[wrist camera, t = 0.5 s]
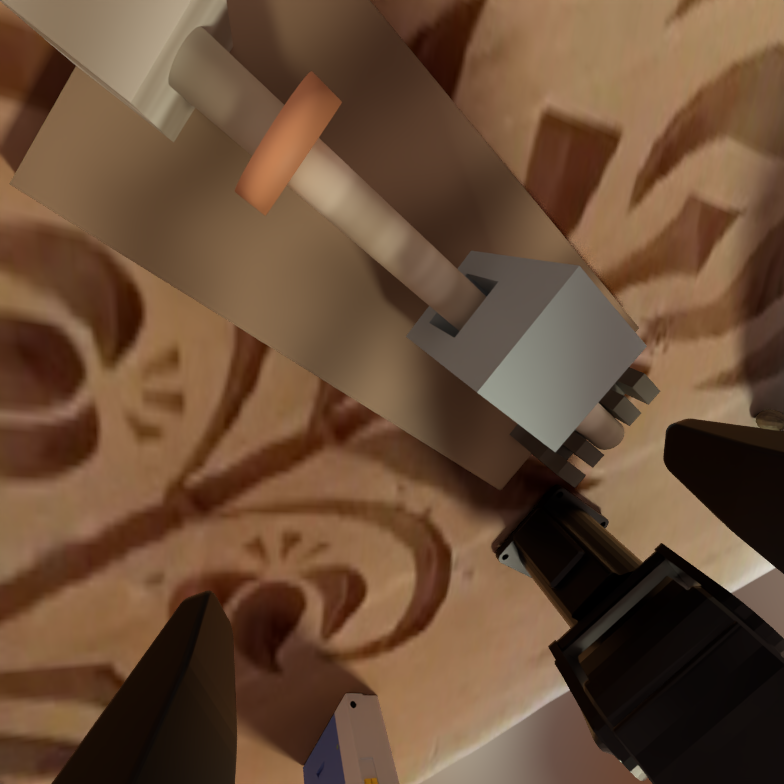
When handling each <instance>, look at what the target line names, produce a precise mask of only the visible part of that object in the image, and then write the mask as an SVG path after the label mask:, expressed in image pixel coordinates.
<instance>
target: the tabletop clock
mask: <svg viewBox="0 0 784 784" xmlns="http://www.w3.org/2000/svg"><path fill="white" fill-rule="evenodd" d="M756 423H757V425H758V426H759V427H760V428H763V429H770V430H777V431H779V430H781V429H782V428H784V414H782V413H781V412H778V411H776V410H771V409H770V410H764V411H762V412H760V413H759V414H758V415H757V417H756Z"/></svg>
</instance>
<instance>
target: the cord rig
mask: <svg viewBox="0 0 784 784" xmlns="http://www.w3.org/2000/svg"><path fill="white" fill-rule="evenodd" d="M0 1H1V2H2V3H3V4H4V5H5V6H7V7H8V8H9V9H10V10H11V11H12V12H14V13H15V14H16V15H17V16H18V17H19V18H21V19H22V20H23V21H24V22H25V23H27V24H28V25H29V26H30V27H31V28H32V29H34V30H35V31H36V32H37V33H38V34H39V35H41V36H42V37H43V38H44V39H45V40H47V41H48V42H49V43H50V44H51V45H52V46H54V47H55V48H56V49H57V50H58V51H59V52H61V53H62V54H63V55H64V56H65V57H66V58H68V59H69V60H70V61H71V62H72V63H74V64H75V65H76V67H75V69H74V71H73V72H72V74H71V76H70V78H69V79H68V81H67V83H66V85H65V86H64V88H63V90H62V92H61V93H60V95H59V97H58V99H57V101H56V102H55V104H54V106H53V108H52V109H51V111H50V113H49V115H48V116H47V118H46V120H45V122H44V123H43V125H42V127H41V129H40V131H39V132H38V134H37V136H36V138H35V139H34V141H33V143H32V145H31V146H30V148H29V150H28V152H27V153H26V155H25V157H24V159H23V161H22V162H21V164H20V166H19V168H18V169H17V171H16V173H15V175H14V176H13V178H12V180H11V182H10V183H9V184H10V185H12V186H13V187H15V188H16V189H18V190H20V191H21V192H23V193H24V194H26V195H28V196H29V197H31V198H32V199H34V200H36V201H37V202H39V203H40V204H42V205H44V206H45V207H47V208H48V209H50V210H52V211H53V212H55V213H56V214H58V215H60V216H61V217H63V218H64V219H66V220H68V221H69V222H71V223H72V224H74V225H76V226H77V227H79V228H80V229H82V230H84V231H85V232H87V233H88V234H90V235H92V236H93V237H95V238H96V239H98V240H100V241H101V242H103V243H104V244H106V245H108V246H109V247H111V248H112V249H114V250H116V251H117V252H119V253H120V254H122V255H124V256H125V257H127V258H128V259H130V260H132V261H133V262H135V263H136V264H138V265H140V266H141V267H143V268H144V269H146V270H148V271H149V272H151V273H152V274H154V275H156V276H157V277H159V278H161V279H162V280H164V281H165V282H167V283H169V284H170V285H172V286H173V287H175V288H177V289H178V290H180V291H181V292H183V293H185V294H186V295H188V296H189V297H191V298H193V299H194V300H196V301H197V302H199V303H201V304H202V305H204V306H205V307H207V308H209V309H210V310H212V311H213V312H215V313H217V314H218V315H220V316H221V317H223V318H225V319H226V320H228V321H229V322H231V323H233V324H234V325H236V326H237V327H239V328H241V329H242V330H244V331H245V332H247V333H249V334H250V335H252V336H253V337H255V338H257V339H258V340H260V341H261V342H263V343H265V344H266V345H268V346H269V347H271V348H273V349H274V350H276V351H277V352H279V353H281V354H282V355H284V356H285V357H287V358H289V359H290V360H292V361H293V362H295V363H297V364H298V365H300V366H301V367H303V368H305V369H306V370H308V371H309V372H311V373H313V374H314V375H316V376H318V377H319V378H321V379H322V380H324V381H326V382H327V383H329V384H330V385H332V386H334V387H335V388H337V389H338V390H340V391H342V392H343V393H345V394H346V395H348V396H350V397H351V398H353V399H354V400H356V401H358V402H359V403H361V404H362V405H364V406H366V407H367V408H369V409H370V410H372V411H374V412H375V413H377V414H378V415H380V416H382V417H383V418H385V419H386V420H388V421H390V422H391V423H393V424H394V425H396V426H398V427H399V428H401V429H402V430H404V431H406V432H407V433H409V434H410V435H412V436H414V437H415V438H417V439H418V440H420V441H422V442H423V443H425V444H426V445H428V446H430V447H431V448H433V449H434V450H436V451H438V452H439V453H441V454H442V455H444V456H446V457H447V458H449V459H450V460H452V461H454V462H455V463H457V464H458V465H460V466H462V467H463V468H465V469H466V470H468V471H470V472H471V473H473V474H475V475H476V476H478V477H479V478H481V479H483V480H484V481H486V482H487V483H489V484H491V485H492V486H494V487H495V488H497V489H499V490H501V489H502V488H503V487H504V486H505V485H506V483H507V482H508V481H509V480H510V479H511V478H512V476H513V475H514V474H515V473H516V472H517V470H518V469H519V468H520V467H521V466H522V465H523V463H524V462H525V461H526V460H527V459H528V458H529V456H530V455H531V454H533V455H534V456H535V457H537V458H538V459H539V460H540V461H541V462H542V463H544V464H545V465H546V466H547V467H548V468H549V469H551V470H552V471H553V472H554V473H555V474H557V475H558V476H559V477H561V478H562V479H563V480H565V481H566V482H568V483H569V484H570V485H572V486H573V487H574V488H575V487H576V486H577V485H578V484H579V483H580V482H581V481H582V479H583V478H584V477H585V476H586V475H585V474H583V473H582V472H581V471H580V470H578V469H577V468H576V467H574V466H573V465H572V464H571V463H569V462H568V461H567V460H568V458H569V457H570V456H571V455H572V454H573V453H574V454H575V455H576V456H578V457H579V458H581V459H582V460H583V461H585V462H586V463H587V464H589V465H590V466H591V467H594V466H595V465H596V464H597V462H598V461H599V460H600V459H601V458H602V457H603V456H604V454H602V453H601V452H600V451H599V450H598V449H596V448H595V447H597V448H599V449H603V450H607V449H611V448H614V447H615V446H617V445H618V444H619V443H620V442H621V441H622V439H623V437H624V428H623V426H622V425H621V424H620V423H619V422H618V421H617V420H616V419H618V420H620V421H622V422H623V423H625V424H627V425H629V426H630V425H631V424H632V423H633V422H634V421H635V419H636V418H637V417H638V416H639V415H640V414H641V412H640V411H639V410H638V409H637V408H636V407H635V406H634V405H633V404H632V403H631V402H630V401H629V400H628V399H627V398H626V397H625V396H623V395H624V394H627V395H629V396H631V397H633V398H636V399H638V400H640V401H642V402H644V403H646V404H648V405H649V404H650V402H651V401H652V400H653V399H654V398H655V397H656V396H657V395H658V393H659V392H660V390H659V389H658V388H657V387H656V386H655V385H654V384H653V382H652V381H651V380H650V379H649V378H648V377H647V376H646V375H645V374H644V373H642V372H639V371H637V370H634V369H632V368H629V367H628V369H627V370H626V371H625V372H624V373H623V374H622V376H621V377H620V378H619V379H618V380H617V381H616V383H615V384H614V385H613V386H612V387H611V388H610V390H609V391H608V392H607V393H606V394H605V395H604V396H603V398H602V399H601V400H600V401H599V402H598V403H597V405H596V406H595V407H594V408H593V409H592V410H591V412H590V413H589V414H588V415H587V416H586V417H585V419H584V420H583V421H582V422H581V423H580V424H579V426H578V427H577V428H576V429H575V430H574V431H573V432H572V434H571V435H570V436H569V437H568V438H567V439H566V441H565V442H564V443H563V444H562V445H561V446H560V448H559V449H558V450H557V451H556V452H554V451H553V450H551V449H550V448H549V447H547V446H546V445H545V444H544V443H542V442H541V441H540V440H538V439H537V438H536V437H534V436H533V435H532V434H531V433H529V432H528V431H527V430H525V429H524V428H523V427H521V426H520V425H519V424H517V423H516V422H515V421H514V420H512V419H511V418H510V417H508V416H507V415H506V414H504V413H503V412H502V411H501V410H499V409H498V408H497V407H495V406H494V405H493V404H491V403H490V402H489V401H488V400H486V399H485V398H484V397H482V396H481V395H480V394H478V393H477V392H476V391H475V390H473V389H472V388H471V387H469V386H468V385H467V384H466V383H464V382H463V381H462V380H461V379H459V378H458V377H457V376H455V375H454V374H453V373H452V372H450V371H449V370H448V369H447V368H445V367H444V366H443V365H441V364H440V363H439V362H438V361H436V360H435V359H434V358H433V357H431V356H430V355H429V354H427V353H426V352H425V351H424V350H422V349H421V348H420V347H419V346H417V345H416V344H415V343H413V342H412V341H411V340H410V339H408V338H407V337H406V336H407V334H408V333H409V332H410V330H411V329H412V328H413V326H414V325H415V324H416V322H417V321H418V320H419V319H420V317H421V316H422V315H423V313H424V312H425V311H426V309H427V308H428V307H429V306H430V307H431V308H432V309H434V310H435V311H436V312H437V313H438V314H440V315H441V316H442V317H443V318H444V319H445V320H447V321H448V322H449V323H450V324H451V325H452V326H454V327H455V328H456V329H457V330H458V331H460V330H461V329H462V328H463V326H464V325H465V324H466V323H467V321H468V320H469V319H470V317H471V316H472V315H473V314H474V312H475V311H476V310H477V308H478V307H479V306H480V305H481V303H482V302H483V301H484V299H485V298H486V296H485V295H484V294H483V293H482V292H481V291H480V290H479V289H478V288H477V287H476V286H475V285H474V284H473V283H472V282H471V281H469V280H468V279H467V278H466V277H465V276H464V275H463V274H462V273H461V272H460V271H459V270H458V267H459V266H460V265H461V263H462V262H463V261H464V259H465V258H466V257H467V255H468V254H469V253H470V252H471V251H477V252H484V253H492V254H499V255H506V256H513V257H520V258H528V259H535V260H542V261H549V262H556V263H563V264H571V265H578V266H580V267H581V268H582V269H583V271H584V272H585V273H586V274H587V275H588V277H589V278H590V279H591V280H592V281H593V282H594V284H595V285H596V286H597V287H598V288H599V290H600V291H601V292H602V293H603V294H604V296H605V297H606V298H607V299H608V300H609V302H610V303H611V304H612V305H613V306H614V308H615V309H616V310H617V311H618V312H619V314H620V315H621V316H622V317H623V318H624V320H625V321H626V322H627V323H628V324H629V326H630V327H631V328H632V329H633V330H634V332H636V331H637V330H638V328H639V327H638V326H637V325H636V324H635V322H634V321H633V320H632V319H631V317H630V316H629V315H628V314H627V313H626V311H625V310H624V309H623V308H622V307H621V305H620V304H619V303H618V302H617V300H616V299H615V298H614V297H613V296H612V294H611V293H610V292H609V291H608V289H607V288H606V287H605V286H604V285H603V283H602V282H601V281H600V280H599V279H598V277H597V276H596V275H595V274H594V272H593V271H592V270H591V269H590V268H589V266H588V265H587V264H586V263H585V261H584V260H583V259H582V258H581V257H580V255H579V254H578V253H577V252H576V251H575V249H574V248H573V247H572V246H571V244H570V243H569V242H568V241H567V240H566V238H565V237H564V236H563V235H562V233H561V232H560V231H559V230H558V229H557V227H556V226H555V225H554V224H553V223H552V221H551V220H550V219H549V218H548V216H547V215H546V214H545V213H544V212H543V210H542V209H541V208H540V207H539V205H538V204H537V203H536V202H535V201H534V199H533V198H532V197H531V196H530V195H529V193H528V192H527V191H526V190H525V188H524V187H523V186H522V185H521V184H520V182H519V181H518V180H517V179H516V177H515V176H514V175H513V174H512V173H511V171H510V170H509V169H508V168H507V167H506V165H505V164H504V163H503V162H502V160H501V159H500V158H499V157H498V156H497V154H496V153H495V152H494V151H493V149H492V148H491V147H490V146H489V145H488V143H487V142H486V141H485V140H484V139H483V137H482V136H481V135H480V134H479V132H478V131H477V130H476V129H475V128H474V126H473V125H472V124H471V123H470V121H469V120H468V119H467V118H466V117H465V115H464V114H463V113H462V112H461V111H460V109H459V108H458V107H457V106H456V104H455V103H454V102H453V101H452V100H451V98H450V97H449V96H448V95H447V93H446V92H445V91H444V90H443V89H442V87H441V86H440V85H439V84H438V83H437V81H436V80H435V79H434V78H433V76H432V75H431V74H430V73H429V72H428V70H427V69H426V68H425V67H424V65H423V64H422V63H421V62H420V61H419V59H418V58H417V57H416V56H415V55H414V53H413V52H412V51H411V50H410V48H409V47H408V46H407V45H406V44H405V42H404V41H403V40H402V39H401V37H400V36H399V35H398V34H397V33H396V31H395V30H394V29H393V28H392V27H391V25H390V24H389V23H388V22H387V20H386V19H385V18H384V17H383V16H382V14H381V13H380V12H379V11H378V9H377V8H376V7H375V6H374V5H373V3H372V2H371V1H370V0H0ZM615 418H616V419H615ZM586 439H587V440H588V441H589V442H591V443H592V444H593V445H594V446H595V447H594V446H593V445H592V444H590V443H589V442H588V441H587V440H586Z"/></svg>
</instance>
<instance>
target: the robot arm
mask: <svg viewBox="0 0 784 784" xmlns="http://www.w3.org/2000/svg"><path fill="white" fill-rule="evenodd" d="M664 463H665V465H666V467H667V469H668V470H669V471H670V472H671V473H672V474H673V475H674V476H675V477H676V478H677V479H678V480H679V481H680V482H681V483H682V484H683V485H684V486H685V487H686V488H687V489H689V490H690V491H691V492H692V493H693V494H694V495H695V496H696V497H697V498H698V499H699V500H700V501H701V502H702V503H703V504H704V505H705V506H706V507H707V508H708V509H709V510H710V511H711V512H712V513H713V514H714V515H715V516H716V517H717V518H718V519H720V520H721V521H722V522H723V523H724V524H725V525H726V526H727V527H728V528H729V529H730V530H731V531H733V532H734V533H735V534H736V535H737V536H738V537H740V538H741V539H742V540H743V541H744V542H746V543H747V544H748V545H749V546H750V547H752V548H753V549H754V550H755V551H756V552H758V553H759V554H760V555H761V556H763V557H764V558H765V559H766V560H767V561H769V562H770V563H771V564H772V565H773V566H775V567H776V568H777V569H778V570H780V571H781V572H782V573H783V574H784V431H777V430H770V429H763V428H755V427H748V426H741V425H734V424H726V423H719V422H712V421H705V420H697V419H684V420H682V421H679V422H676V423H673V424H671V425H670V426H668V428H667V430H666V437H665V447H664ZM608 523H609V521H608V519H606V518H605V517H604V516H603V515H601V514H600V513H599V512H597V511H596V510H594V509H593V508H592V507H590V506H589V505H587V504H586V503H584V502H583V501H582V500H580V499H579V498H577V497H576V496H575V495H573V494H572V493H570V492H569V491H568V490H566V489H565V488H563V487H562V486H560V485H556V486H554V487H553V488H552V489H551V490H550V491H549V492H548V493H547V494H546V495H545V497H544V498H543V499H542V500H541V501H540V502H539V503H538V505H537V506H536V507H535V508H534V509H533V510H532V511H531V513H530V514H529V515H528V516H527V517H526V518H525V519H524V521H523V522H522V523H521V524H520V525H519V526H518V528H517V529H516V530H515V531H514V532H513V533H512V534H511V536H510V537H509V538H508V539H507V540H506V541H505V542H504V544H503V545H502V546H501V547H500V548H499V549H498V550H497V552H496V557H497V559H498V560H499V562H501V563H503V564H505V565H507V566H509V567H511V568H513V569H515V570H517V571H519V572H521V573H523V574H525V575H527V576H529V577H531V578H533V579H534V581H535V582H536V583H537V585H538V586H539V587H540V589H541V590H542V591H543V592H544V594H545V595H546V596H547V598H548V599H549V600H550V602H551V603H552V604H553V606H554V607H555V608H556V609H557V611H558V612H559V613H560V615H561V616H562V617H563V619H564V620H565V621H566V622H567V624H568V625H569V626H570V628H571V629H569V630H568V631H567V632H566V633H565V634H564V635H563V636H562V637H561V638H560V639H558V640H557V641H556V640H555V641H553V642H552V643H551V644H550V645H549V646H548V647H549V649H550V651H551V652H552V654H553V656H554V658H555V659H556V660H555V665H556V667H557V668H558V670H559V671H560V673H561V674H562V676H563V678H564V680H565V682H566V683H567V685H568V687H569V689H570V691H571V692H572V694H573V696H574V698H575V699H576V701H577V703H578V705H579V707H580V708H581V711H582V713H583V716H584V718H585V720H586V723H587V725H588V728H589V730H590V732H591V735H592V737H593V739H594V741H595V743H596V744H597V746H598V747H599V748H600V749H601V750H602V751H603V752H606V753H609V754H612V755H614V756H615V757H616V758H617V759H618V760H619V761H620V762H621V763H623V764H624V766H625V767H626V768H627V769H628V770H629V771H630V772H631V773H632V774H633V775H634V776H635V777H637V778H638V779H639V780H641V781H644V780H646V779H647V778H649V780H650V781H651V782H652V783H653V784H784V639H783V637H781V636H780V635H779V634H778V633H777V632H776V631H775V630H774V629H773V628H772V627H771V626H770V625H769V624H767V623H766V622H765V621H764V620H763V619H762V618H761V617H759V616H758V615H757V614H756V613H755V612H754V611H752V610H751V609H750V608H749V607H748V606H746V605H745V604H744V603H743V602H741V601H740V600H739V599H738V598H736V597H735V596H734V595H733V594H731V593H730V592H729V591H727V590H726V589H725V588H723V587H722V586H720V585H719V584H718V583H716V582H715V581H714V580H712V579H711V578H709V577H708V576H707V575H705V574H704V573H702V572H701V571H700V570H698V569H697V568H696V567H694V566H693V565H691V564H690V563H689V562H687V561H686V560H684V559H683V558H682V557H680V556H679V555H677V554H676V553H675V552H673V551H672V550H671V549H669V548H668V547H666V546H665V545H664V544H662V543H661V544H660V545H659V546H658V547H656V548H655V549H654V550H655V552H654V553H653V554H652V555H651V556H650V557H648V558H647V559H646V560H645V561H644V562H642V561H641V560H640V559H638V558H637V557H636V556H635V555H634V554H633V553H632V552H631V551H629V550H628V549H627V548H626V547H625V546H624V545H623V544H622V543H620V542H619V541H618V540H617V539H616V538H615V537H614V536H613V535H611V534H610V533H609V532H608V531H607V530H606V529H605V528H606V527H607V525H608ZM236 754H237V718H236V693H235V669H234V644H233V632H232V627H231V624H230V621H229V619H228V618H227V616H226V614H225V612H224V610H223V608H222V606H221V605H220V603H219V601H218V599H217V597H216V595H215V594H214V593H213V592H212V591H205V592H202V593H199V594H196V595H194V596H191V597H188V598H186V599H185V600H184V601H183V602H182V603H181V604H180V605H179V607H178V608H177V610H176V611H175V612H174V614H173V615H172V617H171V618H170V619H169V621H168V622H167V623H166V625H165V626H164V628H163V629H162V630H161V632H160V633H159V635H158V636H157V637H156V639H155V640H154V642H153V643H152V644H151V646H150V647H149V649H148V650H147V651H146V653H145V654H144V656H143V657H142V658H141V660H140V661H139V662H138V664H137V665H136V667H135V668H134V669H133V671H132V672H131V674H130V675H129V676H128V678H127V679H126V681H125V682H124V683H123V685H122V686H121V688H120V689H119V690H118V692H117V693H116V695H115V696H114V697H113V699H112V700H111V702H110V703H109V704H108V706H107V707H106V708H105V710H104V711H103V713H102V714H101V715H100V717H99V718H98V720H97V721H96V722H95V724H94V725H93V727H92V728H91V729H90V731H89V732H88V734H87V735H86V736H85V738H84V739H83V741H82V742H81V743H80V745H79V746H78V748H77V749H76V750H75V752H74V753H73V754H72V756H71V757H70V759H69V760H68V761H67V763H66V764H65V766H64V767H63V768H62V770H61V771H60V773H59V774H58V775H57V777H56V778H55V780H54V781H53V782H52V784H235V773H236Z"/></svg>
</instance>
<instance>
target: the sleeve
mask: <svg viewBox="0 0 784 784" xmlns="http://www.w3.org/2000/svg"><path fill="white" fill-rule="evenodd" d="M458 270H459V271H460V272H461V273H462V274H463V275H464V276H465V277H466V278H467V279H468V280H469V281H471V282H472V283H473V284H474V285H475V286H476V287H477V288H478V289H479V290H480V291H481V292H482V293H483V294H484V295H485V296H486V298H485V299H484V301H483V302H482V303H481V305H480V306H479V307H478V308H477V310H476V311H475V312H474V314H473V315H472V316H471V317H470V319H469V320H468V321H467V323H466V324H465V325H464V326H463V328H462V329H461V330H460V331H458V330H457V329H456V328H455V327H454V326H452V325H451V324H450V323H449V322H448V321H447V320H445V319H444V318H443V317H442V316H441V315H440V314H438V313H437V312H436V311H435V310H434V309H432V308H431V307H430V306H429V307H428V308H427V309H426V311H425V312H424V313H423V315H422V316H421V317H420V319H419V320H418V321H417V322H416V324H415V325H414V326H413V328H412V329H411V330H410V332H409V333H408V334H407V336H406V337H407V338H408V339H410V340H411V341H412V342H413V343H415V344H416V345H417V346H419V347H420V348H421V349H422V350H424V351H425V352H426V353H427V354H429V355H430V356H431V357H433V358H434V359H435V360H436V361H438V362H439V363H440V364H441V365H443V366H444V367H445V368H447V369H448V370H449V371H450V372H452V373H453V374H454V375H455V376H457V377H458V378H459V379H461V380H462V381H463V382H464V383H466V384H467V385H468V386H469V387H471V388H472V389H473V390H475V391H476V392H477V393H478V394H480V395H481V396H482V397H484V398H485V399H486V400H488V401H489V402H490V403H491V404H493V405H494V406H495V407H497V408H498V409H499V410H501V411H502V412H503V413H504V414H506V415H507V416H508V417H510V418H511V419H512V420H514V421H515V422H516V423H517V424H519V425H520V426H521V427H523V428H524V429H525V430H527V431H528V432H529V433H531V434H532V435H533V436H534V437H536V438H537V439H538V440H540V441H541V442H542V443H544V444H545V445H546V446H547V447H549V448H550V449H551V450H553V451H554V452H556V451H557V450H558V449H559V448H560V446H561V445H562V444H563V443H564V442H565V441H566V439H567V438H568V437H569V436H570V435H571V434H572V432H573V431H574V430H575V429H576V428H577V427H578V426H579V424H580V423H581V422H582V421H583V420H584V419H585V417H586V416H587V415H588V414H589V413H590V412H591V410H592V409H593V408H594V407H595V406H596V405H597V403H598V402H599V401H600V400H601V399H602V398H603V396H604V395H605V394H606V393H607V392H608V391H609V390H610V388H611V387H612V386H613V385H614V384H615V383H616V381H617V380H618V379H619V378H620V377H621V376H622V374H623V373H624V372H625V371H626V370H627V369H628V367H629V366H630V365H631V364H632V363H633V362H634V360H635V359H636V358H637V357H638V356H639V355H640V354H641V352H642V351H643V350H644V349H645V348H646V347H647V346H646V345H645V343H644V342H643V341H642V340H641V339H640V338H639V336H638V335H637V334H636V333H635V332H634V330H633V329H632V328H631V327H630V326H629V324H628V323H627V322H626V321H625V320H624V318H623V317H622V316H621V315H620V314H619V312H618V311H617V310H616V309H615V308H614V306H613V305H612V304H611V303H610V302H609V300H608V299H607V298H606V297H605V296H604V294H603V293H602V292H601V291H600V290H599V288H598V287H597V286H596V285H595V284H594V282H593V281H592V280H591V279H590V278H589V277H588V275H587V274H586V273H585V272H584V271H583V269H582V268H581V267H580V266H578V265H571V264H563V263H556V262H549V261H542V260H535V259H528V258H520V257H513V256H506V255H499V254H492V253H484V252H477V251H471V252H470V253H469V254H468V255H467V257H466V258H465V259H464V261H463V262H462V263H461V265H460V266H459V267H458Z"/></svg>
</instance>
